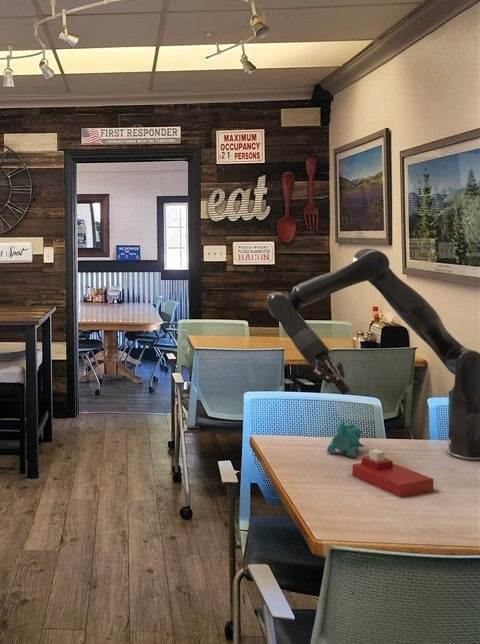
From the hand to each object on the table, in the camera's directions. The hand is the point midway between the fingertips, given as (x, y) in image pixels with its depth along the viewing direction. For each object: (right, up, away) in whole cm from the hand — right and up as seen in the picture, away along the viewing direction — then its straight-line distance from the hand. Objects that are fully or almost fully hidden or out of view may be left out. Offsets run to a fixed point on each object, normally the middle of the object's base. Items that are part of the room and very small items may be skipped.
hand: (346, 392), depth 180 cm
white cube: (+5, -17, -9) cm, 20 cm away
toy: (+5, -22, +13) cm, 26 cm away
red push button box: (+7, -21, -13) cm, 26 cm away
